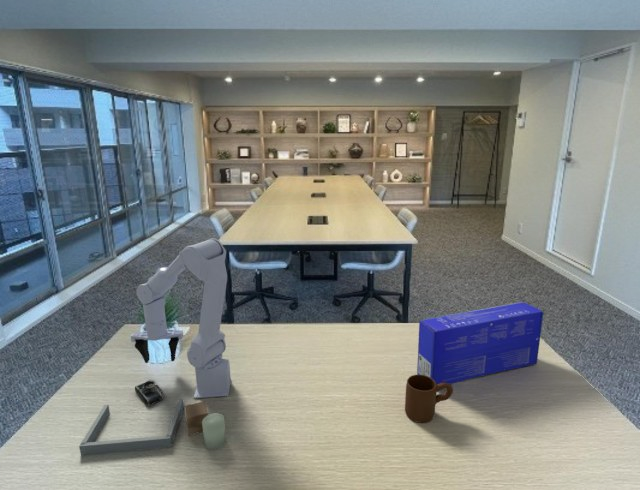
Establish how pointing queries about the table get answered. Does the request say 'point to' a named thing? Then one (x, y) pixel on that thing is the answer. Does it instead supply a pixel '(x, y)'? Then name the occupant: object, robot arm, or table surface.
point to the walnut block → (195, 417)
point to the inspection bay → (127, 444)
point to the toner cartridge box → (479, 342)
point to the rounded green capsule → (214, 431)
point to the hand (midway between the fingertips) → (160, 360)
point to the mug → (424, 397)
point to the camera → (150, 392)
